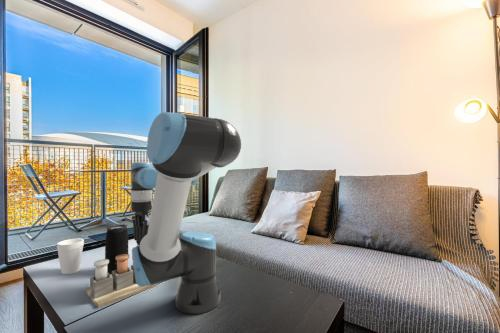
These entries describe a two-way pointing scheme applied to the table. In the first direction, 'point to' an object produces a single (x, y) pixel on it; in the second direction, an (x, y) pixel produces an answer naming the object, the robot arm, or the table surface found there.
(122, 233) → the portable speaker
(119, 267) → the plunger terracotta
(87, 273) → the table surface
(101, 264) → the plunger cream
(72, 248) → the foam cup
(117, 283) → the board
